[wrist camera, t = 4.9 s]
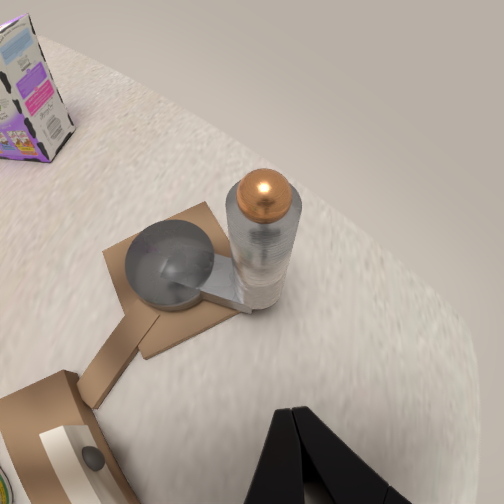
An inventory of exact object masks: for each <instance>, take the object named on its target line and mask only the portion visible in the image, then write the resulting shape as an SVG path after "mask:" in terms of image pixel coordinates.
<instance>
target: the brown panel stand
mask: <svg viewBox="0 0 504 504" xmlns="http://www.w3.org/2000/svg"><path fill="white" fill-rule="evenodd" d="M173 219H177V220H184V221H188V222H191V223H193V224H195V225H197V226H198V227H200V228H201V229H202V230H203V231H204V232H205V233H206V234H207V235H208V237H209V238H210V240H211V242H212V245H213V249H214V253H215V254H218V255H221V256H225V257H228V258H231V251H230V242H229V240H228V238H227V236H226V235H225V233H224V231H223V230H222V228H221V227H220V225H219V223H218V222H217V220H216V218H215V217H214V215H213V213H212V212H211V210H210V208H209V207H208V205H207V203H206V202H205V201H204V202H202V203H200V204H198V205H196V206H194V207H191V208H189V209H187V210H185V211H183V212H181V213H178V214H176V215H174V216H172V217H170V218H168V219H166V220H173ZM141 232H142V231H141ZM139 233H140V232H139ZM139 233H137V234H135V235H133V236H131V237H129V238H127V239H125V240H123V241H121V242H119V243H117V244H115V245H113V246H111V247H110V248H108V249H106V250H104V251H102V252H103V255H104V258H105V261H106V264H107V267H108V270H109V273H110V276H111V279H112V282H113V284H114V287H115V290H116V293H117V295H118V298H119V301H120V303H121V306H122V309H123V311H124V314H125V316H124V318H123V319H122V320H121V322H120V323H119V324H118V326H117V327H116V328H115V330H114V331H113V332H112V334H111V335H110V337H109V338H108V339H107V341H106V342H105V343H104V345H103V346H102V348H101V349H100V350H99V352H98V353H97V355H96V356H95V358H94V359H93V360H92V362H91V363H90V365H89V366H88V368H87V369H86V370H85V372H84V373H83V375H82V376H81V378H80V379H79V377H78V374H77V373H73V372H70V371H66V370H61V371H59V372H57V373H55V374H53V375H51V376H49V377H46V378H44V379H42V380H40V381H38V382H36V383H34V384H31V385H29V386H27V387H25V388H23V389H21V390H18V391H16V392H14V393H12V394H10V395H8V396H5V397H3V398H1V399H0V431H1V434H2V436H3V439H4V442H5V445H6V447H7V450H8V453H9V455H10V458H11V460H12V463H13V465H14V467H15V470H16V472H17V474H18V477H19V479H20V481H21V483H22V485H23V487H24V490H25V492H26V494H27V496H28V498H29V500H30V502H31V504H140V502H139V500H138V499H137V497H136V496H135V494H134V492H133V491H132V489H131V487H130V486H129V484H128V482H127V480H126V479H125V477H124V475H123V473H122V471H121V470H120V468H119V466H118V464H117V462H116V460H115V458H114V457H113V455H112V453H111V451H110V449H109V447H108V445H107V443H106V441H105V438H104V436H103V434H102V432H101V430H100V428H99V426H98V423H97V421H96V419H95V417H94V414H93V412H92V410H91V408H92V409H98V407H99V406H100V404H101V403H102V402H103V400H104V399H105V397H106V396H107V394H108V393H109V391H110V390H111V389H112V387H113V386H114V384H115V383H116V382H117V380H118V379H119V377H120V376H121V374H122V373H123V372H124V370H125V369H126V367H127V366H128V365H129V363H130V362H131V360H132V359H133V358H134V356H135V355H136V353H137V352H138V351H139V350H140V352H141V354H142V357H143V359H145V360H147V359H149V358H151V357H153V356H155V355H157V354H159V353H161V352H163V351H165V350H167V349H169V348H171V347H173V346H175V345H177V344H179V343H181V342H183V341H185V340H187V339H189V338H191V337H193V336H195V335H197V334H199V333H201V332H203V331H205V330H207V329H209V328H211V327H213V326H215V325H217V324H219V323H221V322H223V321H224V320H226V319H228V318H230V317H232V316H234V315H236V314H238V313H240V312H242V311H239V310H236V309H233V308H229V307H226V306H223V305H220V304H217V303H214V302H211V301H208V300H205V299H202V300H201V301H200V302H198V303H197V304H195V305H193V306H192V307H190V308H187V309H184V310H180V311H161V310H158V309H155V308H153V307H151V306H149V305H148V304H146V303H145V302H144V301H143V300H142V299H141V298H140V297H139V296H138V295H137V293H136V292H135V291H134V290H133V289H132V288H131V286H130V284H129V283H128V280H127V278H126V274H125V258H126V254H127V251H128V249H129V247H130V245H131V243H132V241H133V240H134V239H135V238H136V236H137V235H138V234H139Z"/></svg>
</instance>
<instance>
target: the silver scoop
mask: <svg viewBox="0 0 504 504" xmlns="http://www.w3.org/2000/svg"><path fill="white" fill-rule="evenodd" d="M301 210H302V202H301V198H300V196H299V193H298V192H297V190H296V189H295V188H294V187H293V186H292V185H291V184H290V183H289V182H288V181H287V179H286V178H285V177H284V176H283V175H282V174H280V173H279V172H277V171H275V170H272V169H264V168H263V169H257V170H254V171H251V172H250V173H248V174H247V175H246V176H245V177H244V178H243V179H242V180H240V181H239V182H237V183H236V184H235V185H234V186H233V187H232V188H231V189H230V191H229V193H228V195H227V198H226V214H227V224H228V233H229V242H230V251H231V258H228V257H225V256H221V255H218V254H215V253H214V249H213V245H212V242H211V240H210V238H209V237H208V235H207V234H206V233H205V232H204V231H203V230H202V229H201V228H200V227H198V226H197V225H195V224H193V223H191V222H188V221H184V220H177V219H173V220H164V221H160V222H157V223H155V224H153V225H151V226H149V227H147V228H146V229H144V230H143V231H142V232H140V233H139V234H138V235H137V236H136V238H135V239H134V240H133V241H132V243H131V245H130V247H129V249H128V251H127V254H126V258H125V274H126V278H127V280H128V283H129V284H130V286H131V288H132V289H133V290H134V291H135V292H136V293H137V295H138V296H139V297H140V298H141V299H142V300H143V301H144V302H145V303H146V304H148V305H149V306H151V307H153V308H155V309H158V310H161V311H180V310H184V309H187V308H190V307H192V306H193V305H195V304H197V303H198V302H200V301H201V300H202V299H205V300H208V301H211V302H214V303H217V304H220V305H223V306H226V307H229V308H233V309H236V310H239V311H242V312H245V313H249V314H252V311H253V309H265V308H268V307H270V306H272V305H273V304H274V303H275V302H276V301H277V300H278V298H279V297H280V294H281V291H282V287H283V283H284V279H285V275H286V271H287V267H288V264H289V260H290V256H291V252H292V248H293V244H294V240H295V236H296V232H297V227H298V223H299V219H300V215H301Z"/></svg>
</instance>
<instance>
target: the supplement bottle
mask: <svg viewBox="0 0 504 504" xmlns="http://www.w3.org/2000/svg"><path fill="white" fill-rule="evenodd" d="M0 504H12V492H11V488H10V485H9V482H8V480H7V478H6V476H5V475H4V473H3V472H2V470H1V469H0Z"/></svg>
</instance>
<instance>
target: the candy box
mask: <svg viewBox="0 0 504 504" xmlns="http://www.w3.org/2000/svg"><path fill="white" fill-rule="evenodd" d="M74 130H75V127H74V124H73V122H72V120H71V118H70V116H69V114H68V112H67V109H66V107H65V105H64V103H63V101H62V99H61V96H60V94H59V92H58V90H57V87H56V85H55V82H54V80H53V78H52V75H51V73H50V70H49V68H48V65H47V63H46V60H45V58H44V55H43V53H42V50H41V47H40V45H39V42H38V39H37V36H36V34H35V31H34V29H33V26H32V23H31V19H30V17H29V13H26V14H24V15H22V16H20V17H17V18H15V19H13V20H10V21H8V22H6V23H4V24H2V25H0V158H3V159H15V160H29V161H40V162H51V160H52V159H53V157H54V156H55V155H56V154H57V152H58V151H59V149H60V148H61V147H62V145H63V144H64V143H65V142H66V140H67V139H68V138H69V137H70V135H71V134H72V133H73V132H74Z"/></svg>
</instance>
